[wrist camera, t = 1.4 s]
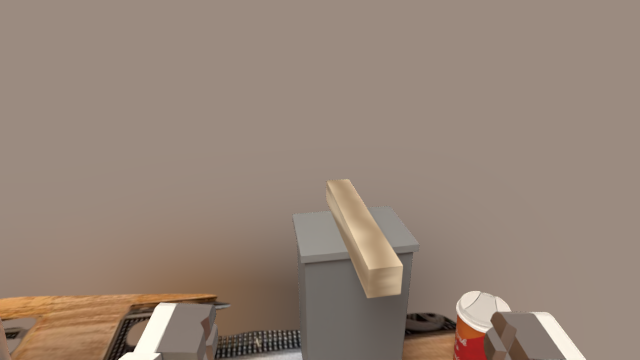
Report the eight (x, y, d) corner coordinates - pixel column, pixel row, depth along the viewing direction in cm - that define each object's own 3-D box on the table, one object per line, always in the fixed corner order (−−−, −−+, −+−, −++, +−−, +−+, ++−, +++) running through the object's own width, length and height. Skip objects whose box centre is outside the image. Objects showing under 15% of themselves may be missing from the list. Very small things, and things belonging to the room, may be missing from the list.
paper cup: (451, 349, 63) (462, 282, 57) (500, 368, 59) (517, 299, 54) (440, 384, 57) (451, 313, 51) (493, 408, 53) (512, 334, 48)
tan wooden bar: (367, 298, 37) (368, 269, 35) (326, 201, 58) (326, 180, 56) (400, 294, 37) (403, 265, 36) (347, 199, 58) (348, 179, 57)
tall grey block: (305, 405, 54) (300, 256, 44) (297, 346, 64) (292, 214, 54) (403, 390, 56) (419, 244, 46) (380, 335, 66) (389, 206, 56)
